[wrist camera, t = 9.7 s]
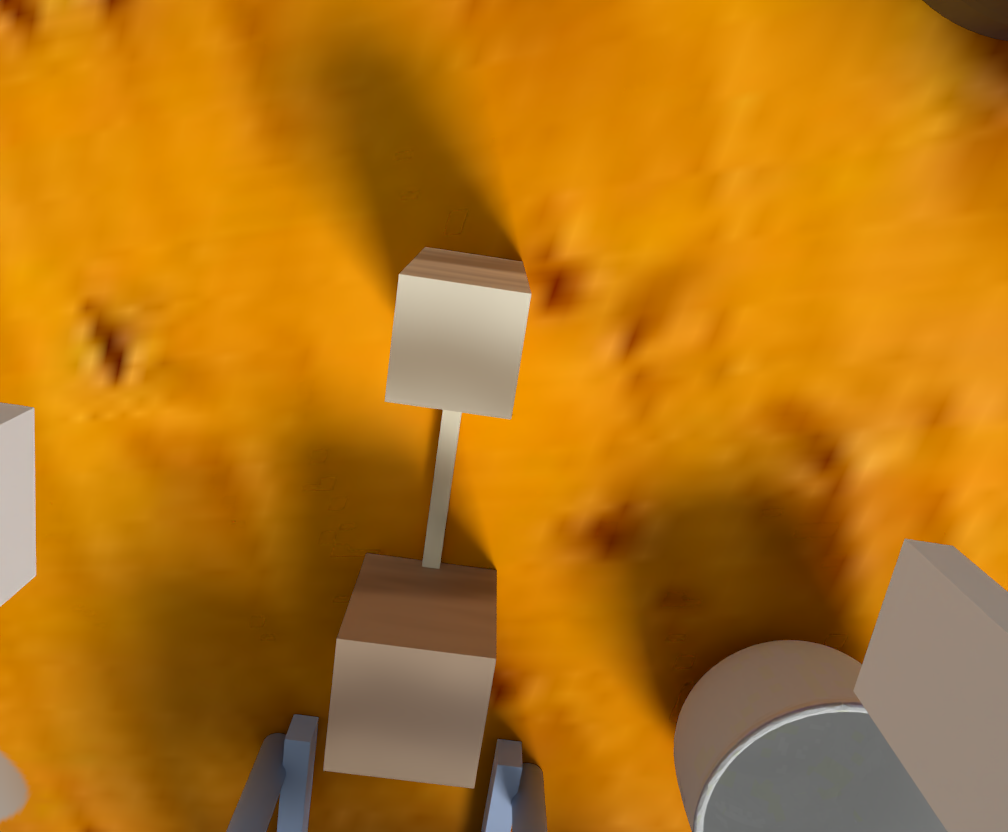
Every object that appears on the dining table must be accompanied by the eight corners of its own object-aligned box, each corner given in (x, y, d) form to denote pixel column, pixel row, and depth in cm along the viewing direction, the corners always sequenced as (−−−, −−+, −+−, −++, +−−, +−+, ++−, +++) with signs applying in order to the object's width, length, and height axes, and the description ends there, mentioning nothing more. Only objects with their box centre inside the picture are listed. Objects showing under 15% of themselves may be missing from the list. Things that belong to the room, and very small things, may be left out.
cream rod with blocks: (400, 242, 32) (365, 269, 24) (546, 265, 33) (564, 298, 24) (353, 665, 38) (311, 809, 30) (478, 681, 39) (472, 827, 30)
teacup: (614, 734, 40) (642, 869, 32) (747, 565, 37) (812, 669, 29) (835, 852, 42) (910, 1005, 34) (975, 701, 39) (1091, 830, 31)
